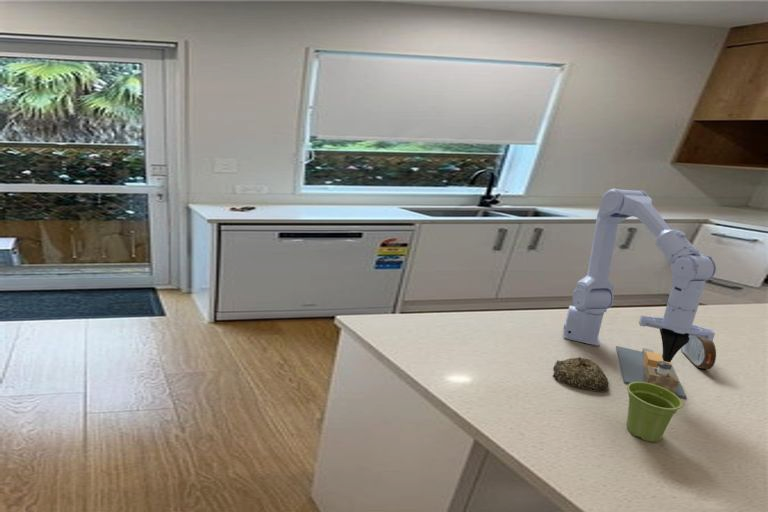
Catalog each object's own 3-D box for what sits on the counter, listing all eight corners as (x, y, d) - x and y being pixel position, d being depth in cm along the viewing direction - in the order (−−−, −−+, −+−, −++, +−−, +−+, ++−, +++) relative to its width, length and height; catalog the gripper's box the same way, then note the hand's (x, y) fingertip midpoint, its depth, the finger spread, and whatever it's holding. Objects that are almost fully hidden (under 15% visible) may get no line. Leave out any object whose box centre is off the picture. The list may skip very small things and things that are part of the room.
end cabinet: (645, 387, 106) (649, 374, 105) (642, 377, 110) (646, 364, 109) (674, 394, 104) (679, 381, 103) (670, 384, 108) (674, 371, 107)
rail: (651, 380, 109) (652, 375, 109) (641, 352, 124) (643, 348, 123) (662, 383, 108) (664, 377, 108) (651, 355, 123) (652, 350, 122)
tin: (712, 375, 116) (721, 346, 114) (698, 373, 117) (708, 343, 114) (686, 349, 130) (694, 322, 128) (674, 347, 131) (682, 320, 128)
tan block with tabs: (644, 373, 112) (648, 359, 110) (641, 364, 116) (645, 350, 115) (667, 378, 110) (671, 364, 109) (663, 369, 114) (667, 355, 113)
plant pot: (607, 416, 94) (617, 380, 91) (649, 417, 95) (660, 381, 92) (635, 447, 85) (647, 408, 82) (681, 448, 86) (694, 409, 83)
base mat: (624, 383, 108) (624, 381, 108) (615, 347, 127) (616, 345, 127) (686, 398, 104) (686, 396, 103) (668, 359, 122) (668, 357, 122)
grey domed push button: (654, 380, 106) (659, 365, 105) (652, 375, 108) (657, 359, 107) (668, 384, 105) (672, 368, 104) (665, 378, 107) (670, 362, 106)
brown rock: (610, 397, 102) (615, 378, 100) (553, 384, 105) (557, 365, 103) (601, 370, 113) (606, 353, 112) (550, 359, 117) (554, 342, 115)
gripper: (648, 304, 100) (634, 359, 104) (725, 320, 95) (706, 376, 99) (644, 295, 107) (630, 346, 110) (715, 309, 102) (698, 362, 105)
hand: (666, 360), depth 105 cm, fingers closed
